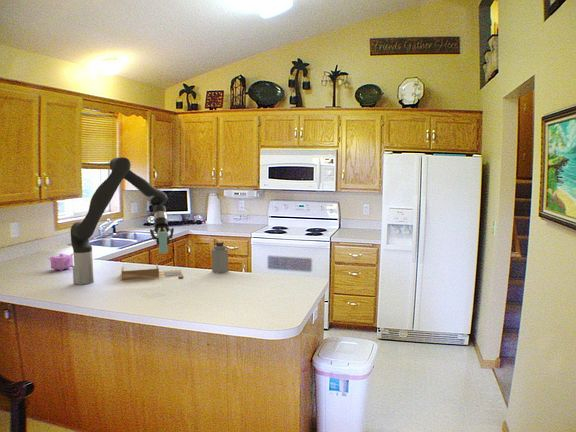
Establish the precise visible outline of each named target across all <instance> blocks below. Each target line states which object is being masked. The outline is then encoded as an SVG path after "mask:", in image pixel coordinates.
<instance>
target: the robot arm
mask: <svg viewBox="0 0 576 432" xmlns="http://www.w3.org/2000/svg"><path fill="white" fill-rule="evenodd" d="M131 167H132V164H131V161H130V159H129V158H127V157H124V156H122V157H121V156H119V157H114V158H112V159H110V161H109V169H110V170H111V172H110V174H109V175H108V177H107V178H106V179H105V180H104V181H103V182H102V183H101V184H100V185H99V186H98V187H97V188H96V189H95V192H94V193H93V194H92V196H91V198H90V202H89V205H88V211H87V213H86V216H84V218H83V220H82V221H76V222H74V223H73V224H72V225H71V228H70V241H71V247H72V250H73V253H74V254H73V267H72V280H73V281H72V282H73V283H72V284H75V285H78V286H79V285H80V286H81V285H88V284H92V283H94V263H93V260H94V259H93V246H92V245H91V243H90V238H91V237H92V236H93V234H94V233H95V230H96V227H97V226H98V225H99V221H100V219H101V217H102V215H103V214H104V213H105V211H106V209H107V207H108V206H109V204H110V203H111V200H112V199H113V197H114V195H115V193H116V191H117V190H118V188H119V187H120V185H121V182H122V181H123V179H124V180H125V181H127V182H128V183H130V184H131V185H132V186H134V187H135V188H136V189H137V190H138V191H139V192H141V193H142V194H143V195H144V196H145V197H147V198H149V197H150V199H149V203H150V205H151V207H152V210H153V221H154V229H151V228H150V229H149V234H150V236H151V238H152V240H154V241H155V240H156V242H155V243H156V245H158V246H159V238H158V232H162V231H166V232H167V246H168V245H169V244H170V243H171V242H170V241H171V240H170V239H172V238H173V236H174V231H175V229H174V227H172V228H170V227H169V223H168V215H167V209H166V206H165V205H163V204H165V203H167V201H168V196H167V193H165V192H164V191H162V190H160V189H158V188H156V187H154V186H153V185H152V184H151V183H150V182H148V181H147V180H146V179H144V178H143V177H142V176H139V175H138V174H137V173H135V172H134V171H132V170H131ZM154 233H156V235H155V234H154ZM169 233H170V235H169Z"/></svg>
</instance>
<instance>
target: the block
mask: <svg viewBox="0 0 576 432" xmlns="http://www.w3.org/2000/svg"><path fill="white" fill-rule="evenodd" d="M158 238H159V245H158V252H159V254H162V255H163V254H168V251H169V250H168V245H167V232H166V231H162V232H158Z"/></svg>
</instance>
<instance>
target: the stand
mask: <svg viewBox="0 0 576 432" xmlns="http://www.w3.org/2000/svg"><path fill="white" fill-rule="evenodd" d="M155 265H156V268H147V269H133V270H131V269H130V270H125V269H124V268H125V267H124V266H123V265H122V266H121V273H120V275H119V282H124V281H125V282H127V281H128V282H129V281H139V280H151V279H165V278H166V279H167V278H176V277H177V278H178V279H184V275H183V272H182V270H181V269H179V270H178V269H177V270H165V271H164V270H162V271H160V268H159V264H158V263H156V264H155Z"/></svg>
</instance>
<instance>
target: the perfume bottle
mask: <svg viewBox="0 0 576 432" xmlns="http://www.w3.org/2000/svg"><path fill="white" fill-rule="evenodd" d="M224 243H225V242H224V241H216V242H215V245H213V249H211V270H212V273H217V274H224V273H226V272H229V250H228V248H227V245H224Z"/></svg>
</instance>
